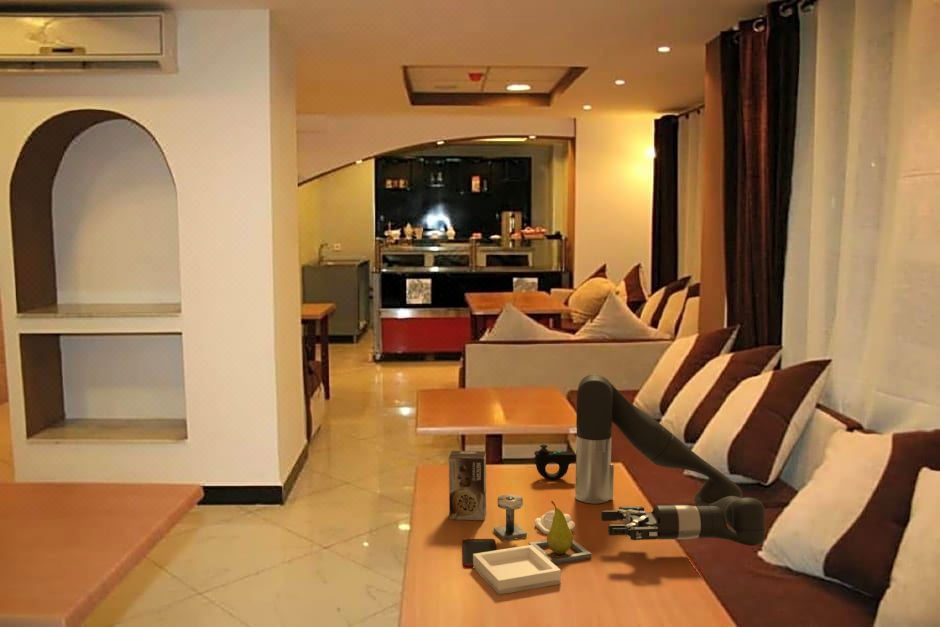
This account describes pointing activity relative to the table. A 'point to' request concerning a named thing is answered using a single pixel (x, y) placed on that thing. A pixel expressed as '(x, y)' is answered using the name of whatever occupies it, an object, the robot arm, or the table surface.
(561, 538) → the fruit
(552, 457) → the controller
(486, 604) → the table surface
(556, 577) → the tray
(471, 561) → the cell phone
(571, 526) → the rose
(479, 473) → the coffee box
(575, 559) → the grey square frame
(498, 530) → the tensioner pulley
